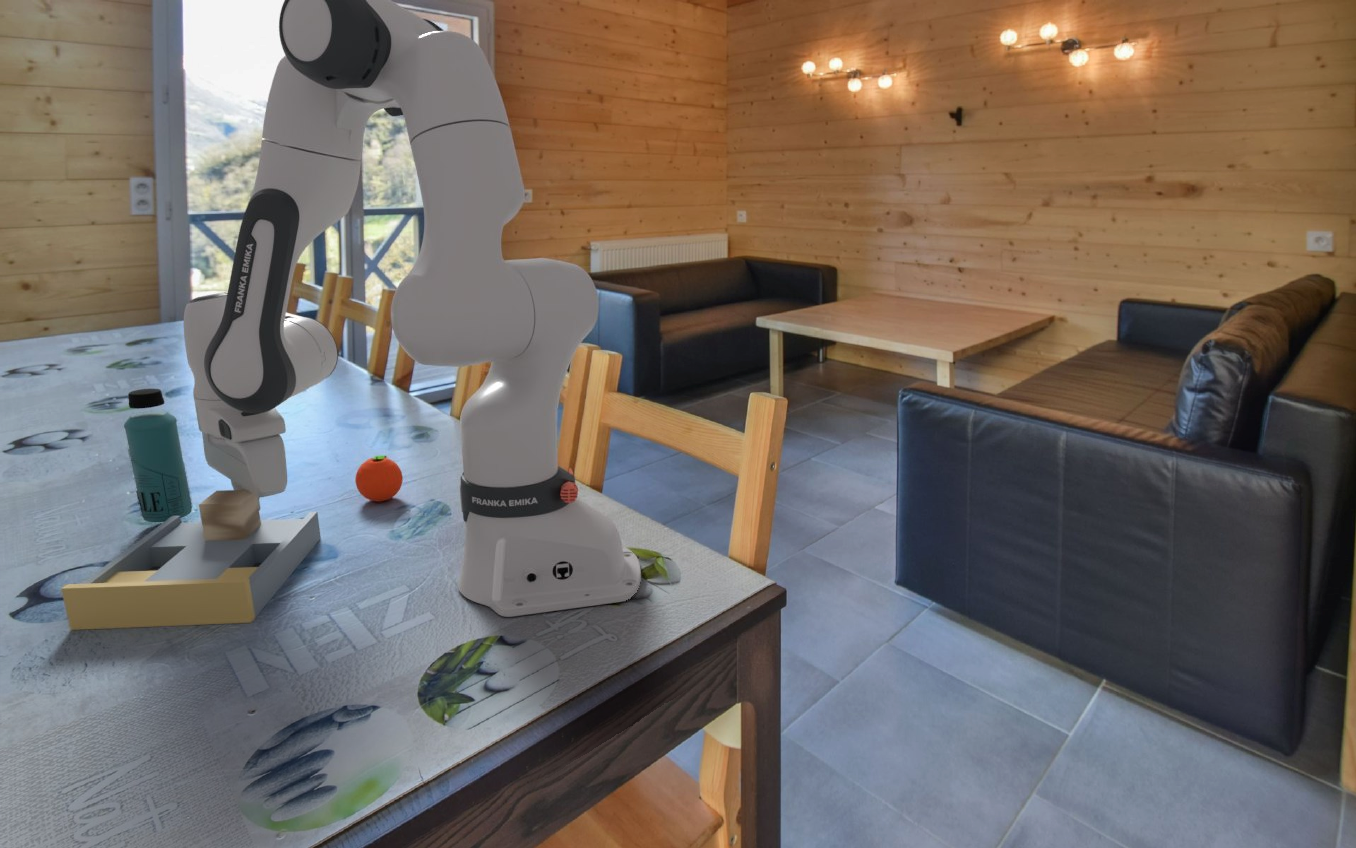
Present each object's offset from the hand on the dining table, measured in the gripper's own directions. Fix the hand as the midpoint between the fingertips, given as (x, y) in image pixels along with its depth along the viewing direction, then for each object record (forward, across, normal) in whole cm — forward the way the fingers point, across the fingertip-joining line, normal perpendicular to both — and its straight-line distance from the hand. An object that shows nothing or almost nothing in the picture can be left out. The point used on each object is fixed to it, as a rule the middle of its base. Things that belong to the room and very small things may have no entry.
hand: (250, 510), depth 111 cm
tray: (+4, +9, -8) cm, 13 cm away
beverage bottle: (+4, -14, -7) cm, 16 cm away
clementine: (+4, -1, +20) cm, 20 cm away
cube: (+1, +4, -4) cm, 5 cm away
